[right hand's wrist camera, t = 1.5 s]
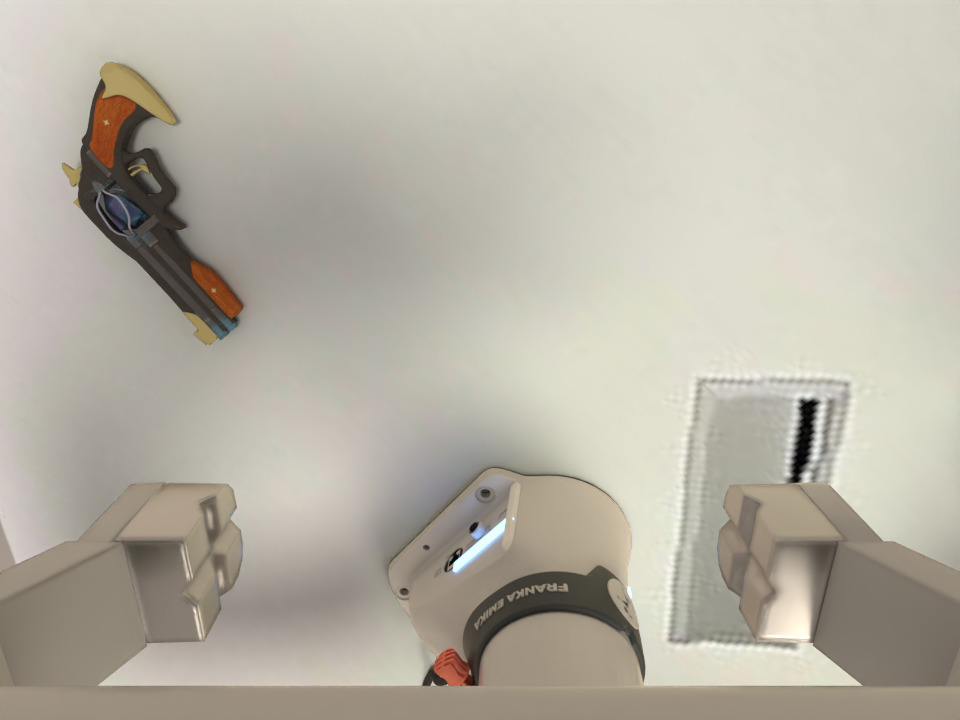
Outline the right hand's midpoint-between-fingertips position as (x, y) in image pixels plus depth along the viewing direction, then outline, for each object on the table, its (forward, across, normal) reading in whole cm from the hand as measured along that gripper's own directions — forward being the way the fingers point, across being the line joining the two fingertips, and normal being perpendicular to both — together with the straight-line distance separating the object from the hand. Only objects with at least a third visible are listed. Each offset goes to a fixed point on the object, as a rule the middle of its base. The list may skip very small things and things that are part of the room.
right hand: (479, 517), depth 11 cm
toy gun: (+40, +23, 0) cm, 46 cm away
